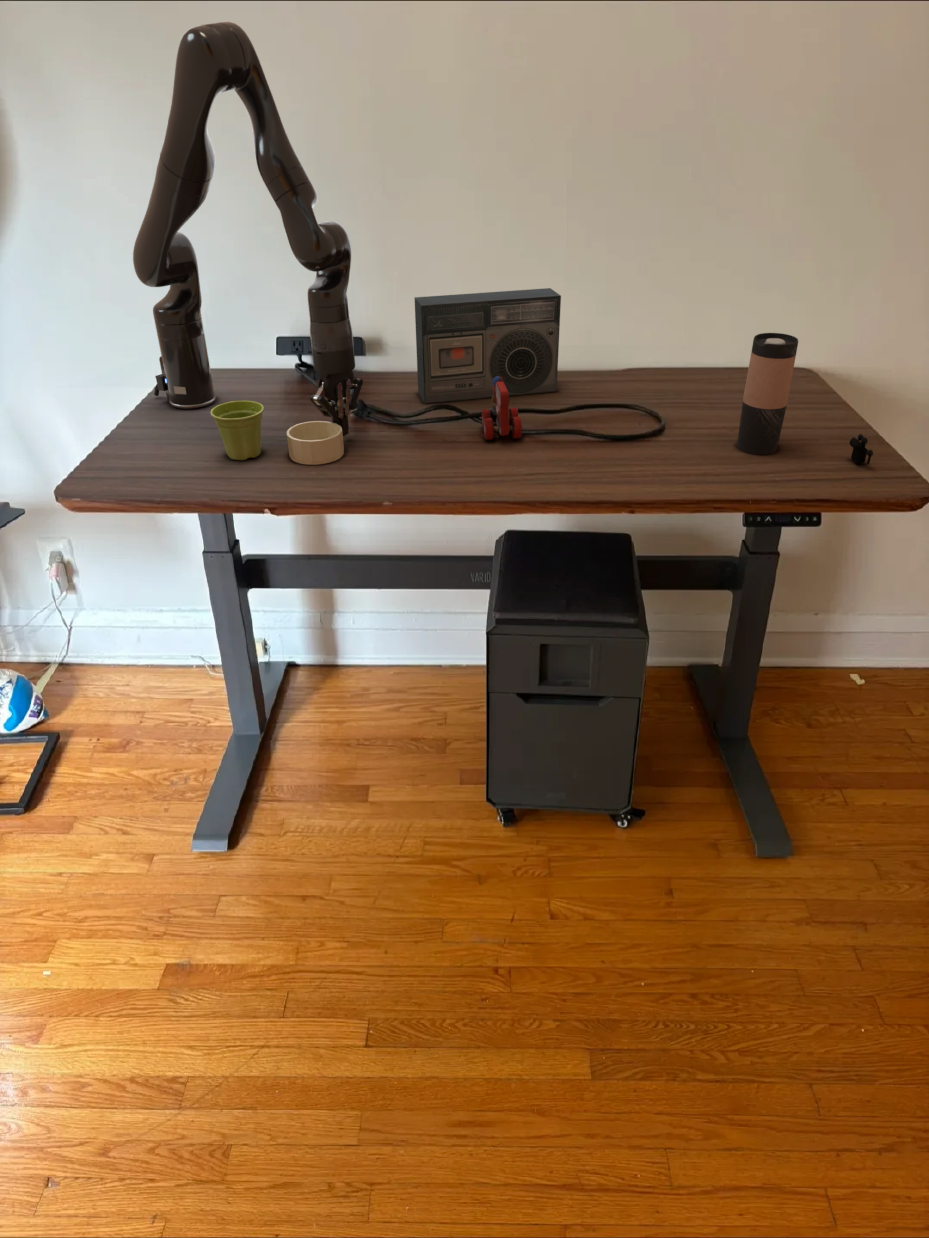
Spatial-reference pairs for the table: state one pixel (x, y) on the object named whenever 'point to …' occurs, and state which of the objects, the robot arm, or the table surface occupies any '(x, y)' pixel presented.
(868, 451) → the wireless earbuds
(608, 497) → the table surface
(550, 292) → the cassette player
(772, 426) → the travel mug
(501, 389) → the red toy vehicle
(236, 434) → the plant pot
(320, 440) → the beige round bowl
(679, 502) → the table surface
